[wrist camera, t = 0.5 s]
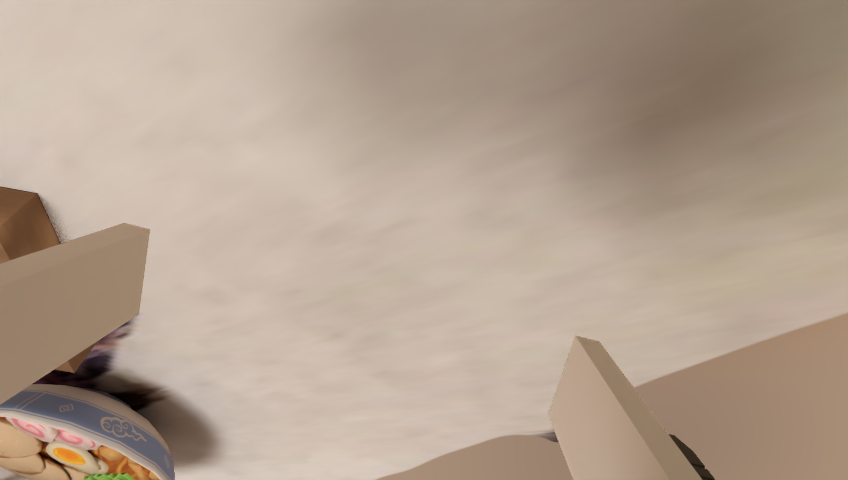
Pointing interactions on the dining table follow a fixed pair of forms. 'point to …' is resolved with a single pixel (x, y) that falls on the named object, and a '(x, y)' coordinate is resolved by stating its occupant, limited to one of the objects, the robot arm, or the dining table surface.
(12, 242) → the stand
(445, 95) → the dining table surface
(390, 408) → the dining table surface
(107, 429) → the ramen bowl
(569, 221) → the dining table surface
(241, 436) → the dining table surface
